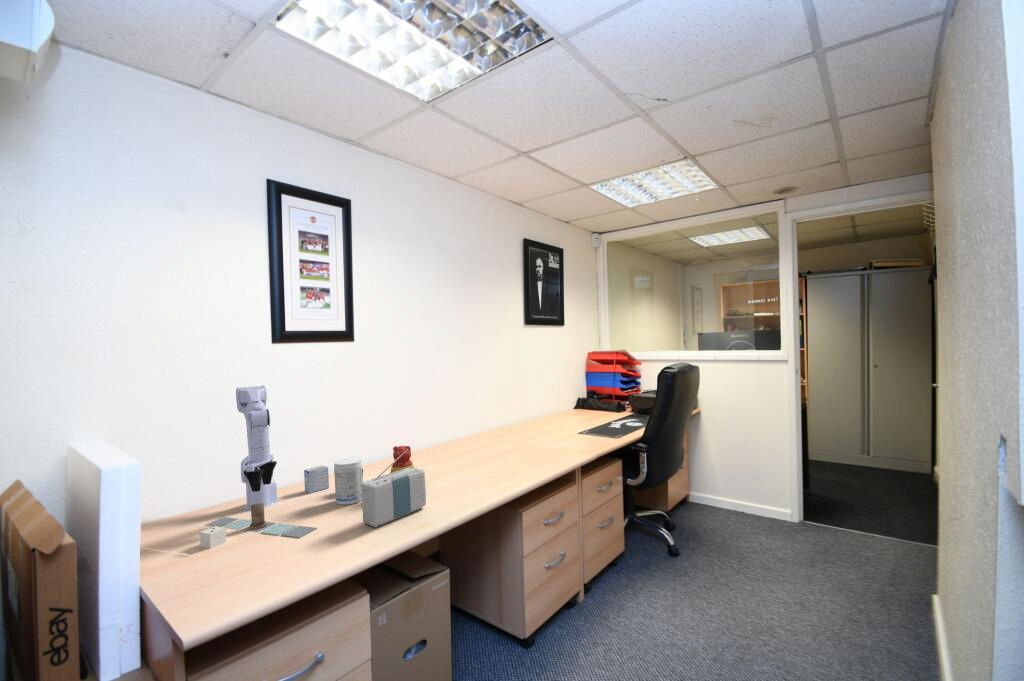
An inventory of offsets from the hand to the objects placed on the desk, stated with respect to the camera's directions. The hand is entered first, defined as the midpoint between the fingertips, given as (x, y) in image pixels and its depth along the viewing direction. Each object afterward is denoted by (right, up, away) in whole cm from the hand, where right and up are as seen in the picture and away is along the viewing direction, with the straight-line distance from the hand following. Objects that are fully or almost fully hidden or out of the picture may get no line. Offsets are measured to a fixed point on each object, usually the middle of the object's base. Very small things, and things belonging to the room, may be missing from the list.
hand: (261, 487), depth 152 cm
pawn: (+3, -10, -7) cm, 13 cm away
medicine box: (+6, -10, +29) cm, 31 cm away
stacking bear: (+42, -9, +20) cm, 48 cm away
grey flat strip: (+3, -10, -7) cm, 13 cm away
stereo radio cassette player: (+45, -9, -3) cm, 46 cm away
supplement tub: (+24, -10, +14) cm, 30 cm away
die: (-4, -11, -19) cm, 22 cm away
